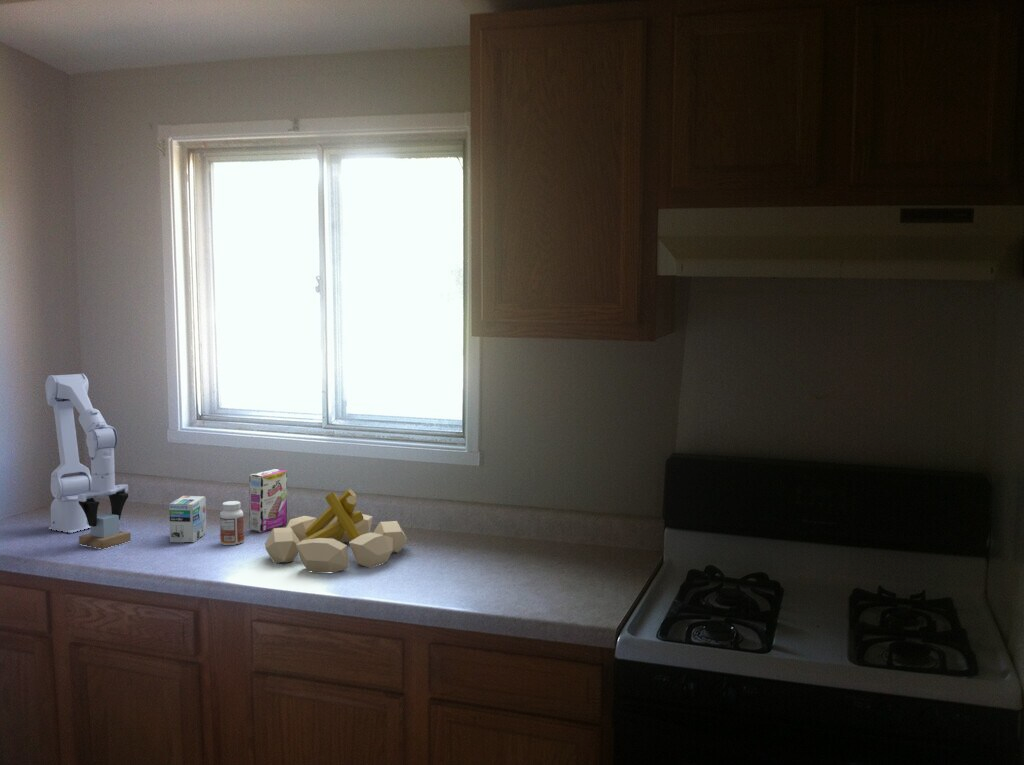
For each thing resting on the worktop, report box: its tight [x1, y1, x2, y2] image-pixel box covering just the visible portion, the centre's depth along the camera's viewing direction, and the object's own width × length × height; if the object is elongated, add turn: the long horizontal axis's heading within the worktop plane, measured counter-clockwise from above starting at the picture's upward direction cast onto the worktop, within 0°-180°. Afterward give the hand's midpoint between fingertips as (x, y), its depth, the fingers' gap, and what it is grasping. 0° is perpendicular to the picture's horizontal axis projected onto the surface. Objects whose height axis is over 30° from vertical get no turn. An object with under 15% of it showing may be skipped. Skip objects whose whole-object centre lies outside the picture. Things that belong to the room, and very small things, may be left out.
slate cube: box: [90, 512, 120, 538], centre depth 253 cm, size 5×5×5 cm
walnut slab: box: [78, 530, 132, 550], centre depth 253 cm, size 9×9×3 cm
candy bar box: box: [248, 468, 288, 534], centre depth 271 cm, size 11×5×16 cm, turn 154°
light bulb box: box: [168, 495, 207, 543], centre depth 259 cm, size 11×7×11 cm, turn 179°
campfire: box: [264, 488, 408, 573], centre depth 245 cm, size 35×34×17 cm
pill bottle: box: [219, 500, 245, 546], centre depth 255 cm, size 6×6×11 cm
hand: (104, 522), depth 253 cm, fingers open, 7 cm apart
